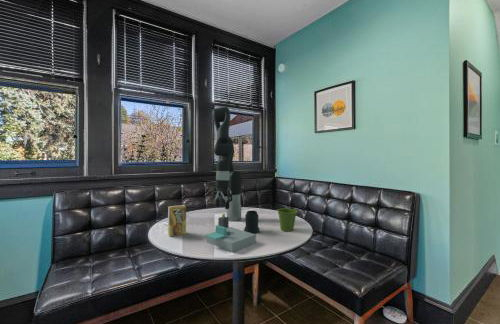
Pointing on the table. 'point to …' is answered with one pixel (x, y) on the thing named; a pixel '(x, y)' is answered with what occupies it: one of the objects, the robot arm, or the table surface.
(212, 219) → the table surface
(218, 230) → the shutter
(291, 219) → the plant pot
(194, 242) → the table surface
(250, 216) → the mug
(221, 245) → the socket plate
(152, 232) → the table surface
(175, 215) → the candy box
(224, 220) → the plug
